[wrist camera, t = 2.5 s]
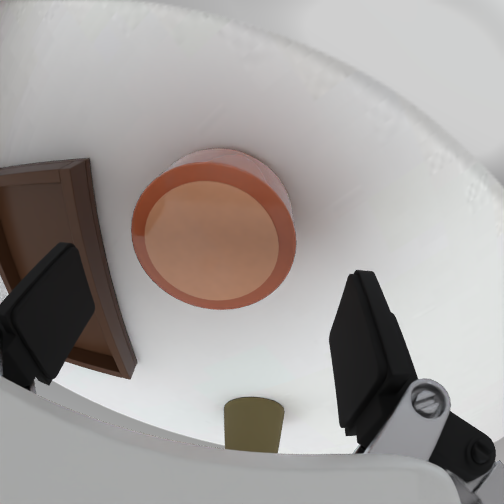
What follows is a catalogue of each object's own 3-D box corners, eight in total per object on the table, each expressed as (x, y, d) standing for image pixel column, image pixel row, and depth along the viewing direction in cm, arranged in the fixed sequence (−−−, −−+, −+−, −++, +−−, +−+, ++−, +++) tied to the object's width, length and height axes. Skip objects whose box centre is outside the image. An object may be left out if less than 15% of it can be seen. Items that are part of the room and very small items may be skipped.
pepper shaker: (297, 408, 25) (298, 511, 16) (260, 427, 28) (255, 516, 19) (245, 390, 24) (234, 506, 15) (213, 411, 27) (198, 507, 17)
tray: (48, 338, 23) (40, 352, 22) (-12, 169, 14) (-29, 179, 12) (137, 362, 23) (130, 379, 21) (89, 157, 14) (69, 168, 12)
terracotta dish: (164, 260, 17) (142, 302, 14) (156, 142, 13) (121, 162, 10) (282, 270, 17) (284, 317, 14) (298, 148, 13) (308, 170, 10)
